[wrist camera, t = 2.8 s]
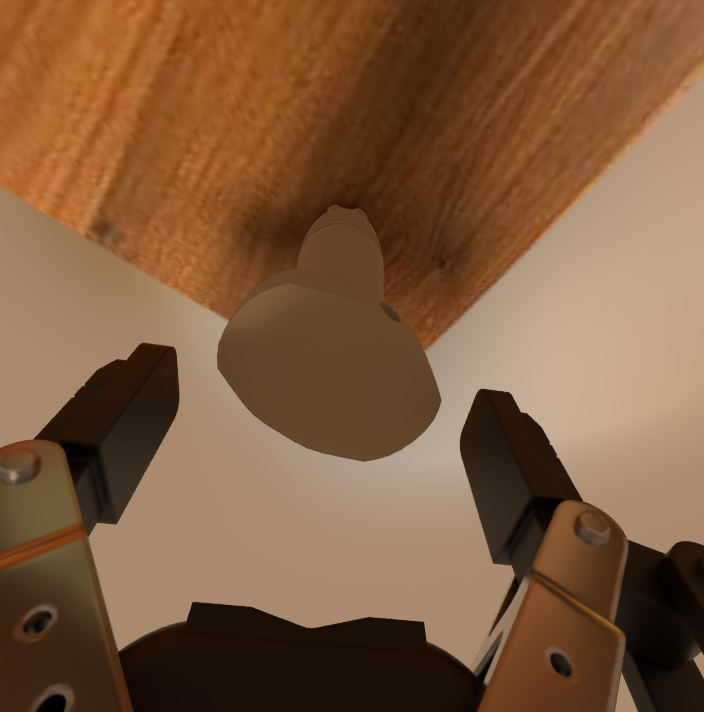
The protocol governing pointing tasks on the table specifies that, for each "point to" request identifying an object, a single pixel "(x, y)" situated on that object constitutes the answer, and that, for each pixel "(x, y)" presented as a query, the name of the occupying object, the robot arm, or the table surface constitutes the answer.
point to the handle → (331, 349)
